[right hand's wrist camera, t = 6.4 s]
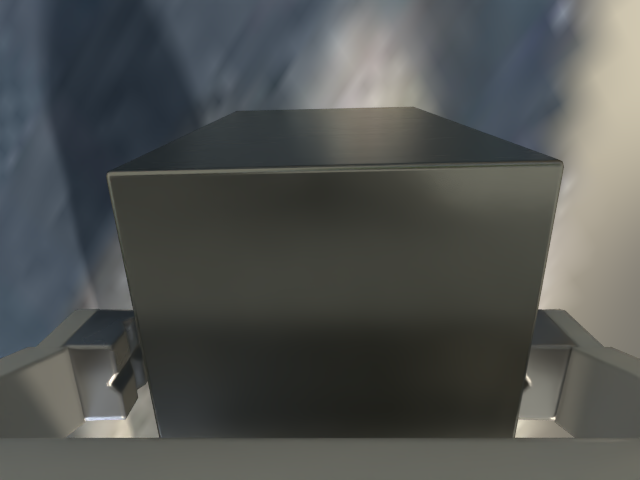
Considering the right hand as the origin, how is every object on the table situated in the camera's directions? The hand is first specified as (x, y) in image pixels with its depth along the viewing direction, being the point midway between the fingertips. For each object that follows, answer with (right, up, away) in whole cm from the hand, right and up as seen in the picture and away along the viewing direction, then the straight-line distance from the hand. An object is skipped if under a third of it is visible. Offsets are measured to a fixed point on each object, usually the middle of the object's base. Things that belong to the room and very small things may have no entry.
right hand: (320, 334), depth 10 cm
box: (0, -4, +8) cm, 9 cm away
